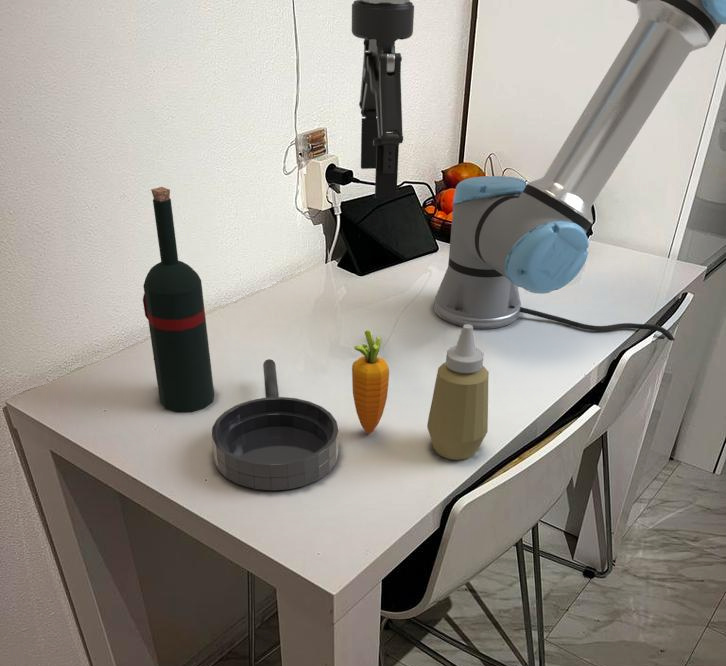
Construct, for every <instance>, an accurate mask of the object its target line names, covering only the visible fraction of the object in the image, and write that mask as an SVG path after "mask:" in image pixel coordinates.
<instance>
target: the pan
mask: <svg viewBox="0 0 726 666" xmlns="http://www.w3.org/2000/svg"><path fill="white" fill-rule="evenodd" d="M211 441H212V450H213V461H214V463H215V466H216V468H217V470H218V471H219V472H220V473H221V475H223V476H224V477H225V478H226V479H227V480H229V481H231V482H233V483H235V484H237V485H239V486H242V487H245V488H250V489H254V490H261V491H262V490H263V491H285V490H292V489H296V488H297V489H298V488H302V487H305V486H308V485H310V484H312V483H315V482H317V481H319V480H321V479H322V478H323V477H325V476H326V475H328V474H329V473H330V472H331V470H332V469H333V468H334V467H335V466H336V464H337V460H338V457H339V426H338V421H337V420H336V418H335V417H334V416H333V414H332V413H331V412H330V411H329V410H327V409H326V408H325V407H323V406H321V405H319V404H317V403H314V402H311V401H309V400H305V399H300V398H297V397H285V396H279V397H269V398H266V397H261V398H256V399H251V400H248V401H245V402H241V403H239V404H236V405H234V406H232V407H231V408H229V409H226V410H225V411H224V412H222V414H220V416H218V418H216V420H215V422H214V424H213V426H212V428H211Z"/></svg>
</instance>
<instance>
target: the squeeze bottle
mask: <svg viewBox="0 0 726 666" xmlns="http://www.w3.org/2000/svg"><path fill="white" fill-rule="evenodd" d="M474 333H475V332H474V328H473V326H472V325H469V324H466V325H464V326H462V328H461V331H460V334H459V337H458V340H457V343H456V345H455V346H451V347H450V348H448V349H447V350H446V356H445V362H443V363H442V364H441V365H440V366H439V367H437V372H436V379H435V382H434V387H433V392H432V398H431V403H430V409H429V413H428V418H427V425H426V427H427V430H428V434H429V437H430V440H431V444H432V447H433V450H434V451H435V453H437V454H438V455H439V456H440V457H443V458H445V459H449V460H454V461H455V460H456V461H461V460H467V459H469V458H472V457H473V456H475V455H476V454H477V452H478V450H479V448H480V446H481V444H482V443H483V441H484V439H485V437H486V435H487V433H488V427H489V426H488V425H489V373H490V372H489V370H488V369H487V368H486V367H485V366H484V365H483V364H484V356H485V355H484V353H483V350H481V349H480V348H477V347H476V341H475V334H474Z"/></svg>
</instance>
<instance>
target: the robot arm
mask: <svg viewBox="0 0 726 666" xmlns="http://www.w3.org/2000/svg"><path fill="white" fill-rule="evenodd" d="M626 1H627V2H629V3H633V4H634V5H635V6H636V11H637V17H638V20H637V22H636V24H635V25H634V27H633V29H632V31H631V32H630V34H629V36H628V37H627V39H626V41H625V42H624V43H623V45H622V47H621V48H620V51H619V52H618V53H617V55H616V57H615V58H614V60H613V62H612V63H611V65H610V67H609V68H608V70H607V72H606V73H605V75H604V77H603V78H602V79H601V81H600V83H599V85H598V86H597V88H596V90H595V91H594V93H593V95H592V96H591V98H590V100H589V101H588V102H587V105H586V106H585V107H584V109H583V111H582V113H581V115H580V116H579V118H578V119H577V120H576V123H575V124H574V126H573V128H571V130H570V132H569V134H568V136H567V137H566V139H565V141H564V142H563V143H562V145H561V147H560V149H559V150H558V152H557V154H556V155H555V156H554V159H553V160H552V161H551V163H550V165H549V166H548V168H547V170H546V172H545V173H544V175H543V176H542V177H540V178H538V179H535V180H532V181H528V182H527V181H526V180H524V179H522V178H519V177H515V176H514V177H513V176H504V175H488V176H487V175H486V176H485V175H484V176H483V175H482V176H474V177H469V178H464V179H463V180H461V181H460V182H458V183H457V185H456V186H455V190H454V195H453V198H452V199H453V200H452V203H451V204H452V216H451V227H450V237H449V238H450V240H449V251H448V263H447V264H448V265H447V268H446V270H445V273H444V275H443V278H442V280H441V283H440V285H439V287H438V290H437V292H436V295H435V297H434V307H433V309H434V312H435V313H436V315H437V316H438V317H439V318H441V319H442V320H444V321H446V322H448V323H450V324H452V325H456V326H459V327H463V326H464V325H466V324H469V325H472V326H473V329H484V330H485V329H487V330H489V329H497V328H502V327H506V326H509V325H511V324H512V323H514V322H517V320H518V319H519V317H520V313H522V314H526V315H529V316H530V315H531V316H535V317H539V318H542V319H546V320H550V321H553V322H557V323H561V324H564V325H567V326H570V327H574V328H578V329H582V330H586V331H594V332H608V331H609V332H610V331H615V330H620V329H634V330H635V329H636V330H637V329H638V330H649V331H650V330H651V331H656V332H658V333H661V334H662V335H664V336H665V337H666V339H668V341H672V342H673V341H675V340H676V339H675V338H674V336H673V335H672V333H671V332H670V331H669V330H667V329H666V328H665V327H663V326H661V325H657V324H648V323H631V322H626V323H625V322H624V323H623V322H622V323H614V324H609V325H592V324H587V323H586V324H585V323H582V322H578V321H574V320H572V319H568V318H564V317H562V316H561V317H560V316H557V315H553V314H549V313H545V312H542V311H539V310H534V309H530V308H527V307H523V306H522V302H521V298H520V291H519V288H522V289H524V290H525V291H527V292H529V293H533V294H536V295H537V294H539V295H540V294H541V295H542V294H549V293H551V292H553V291H558V290H560V289H562V288H564V287H565V286H567V285H568V284H570V283H571V282H572V281H573V280H574V279H575V278H576V277H577V276H578V275H579V274H580V272H581V270H582V269H583V268H584V266H585V264H586V261H587V258H588V255H589V252H588V248H589V247H590V244H589V238H588V236H587V232H588V230H589V229H590V228H591V226H592V225H593V222H594V219H593V218H594V217H593V214H592V213H593V212H592V206H593V205H594V203H595V202H596V200H597V199H598V197H599V196H600V194H601V192H602V191H603V189H604V188H605V186H606V184H607V183H608V182H609V180H610V178H611V176H612V175H613V174H614V172H615V171H616V169H617V167H618V166H619V164H620V163H621V161H622V159H624V156H625V155H626V153H627V152H628V150H629V149H630V147H631V145H632V144H633V142H634V141H635V139H636V137H637V136H638V134H639V133H640V131H641V130H642V128H643V127H644V125H645V123H646V122H647V121H648V119H649V118H650V116H651V114H652V112H653V111H654V109H655V108H656V106H657V105H658V103H659V102H660V100H661V98H662V97H663V96H664V94H665V92H666V91H667V89H668V88H669V86H670V84H671V83H672V81H673V80H674V78H675V77H676V75H677V74H678V72H679V70H680V69H681V67H682V66H683V65H684V62H686V60H687V58H688V56H689V55H690V53H692V52H693V51H696V50H700V49H703V48H705V47H707V46H708V45H709V43H710V42H711V40H712V39H713V38H714V36H715V34H716V33H717V31H718V30H719V28H720V26H721V25H726V0H626ZM414 19H415V5H414V3H413V2H412V1H411V0H354V1H353V3H352V4H351V34H352V35H353V36H354V37H356V38H357V39H362V40H363V59H362V60H363V62H362V74H361V84H360V85H361V86H360V95H359V97H360V98H359V102H358V106H359V109H360V114H361V117H362V118H361V126H360V127H361V130H360V131H361V133H360V134H361V135H360V169H361V170H368V169H369V170H371V169H372V170H373V169H375V177H374V179H375V180H374V181H375V182H374V198H375V199H397V198H398V197H397V196H398V175H399V173H398V172H399V155H400V154H399V150H400V144H403V142H404V135H403V110H402V109H403V108H402V107H403V104H402V76H401V72H402V70H401V69H402V60H403V56H402V55H401V54H402V53H400V52H396V41H399V40H403V41H404V40H407V39H410V38H411V37H412V36H413V34H414V23H415V22H414Z"/></svg>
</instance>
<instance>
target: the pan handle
mask: <svg viewBox="0 0 726 666" xmlns="http://www.w3.org/2000/svg"><path fill="white" fill-rule="evenodd" d="M262 364H263V365H262V366H263V379H264V381H263V382H264V393H265V398H269V397H280V396H279V386H278V376H277V366H276V365H277V364H276V362H275V361H274V360H273V359H270V358H269V359H266V360H264V362H263V363H262Z"/></svg>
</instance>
